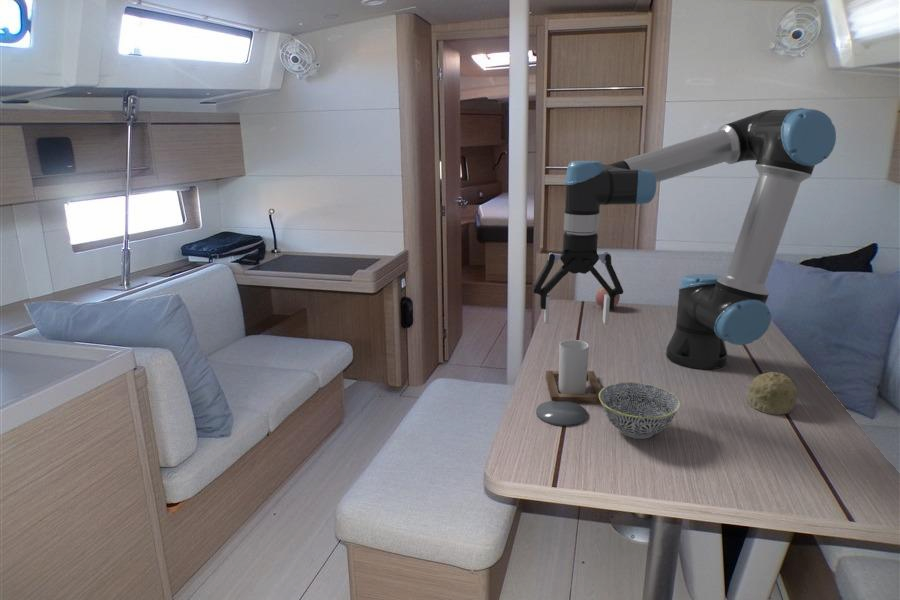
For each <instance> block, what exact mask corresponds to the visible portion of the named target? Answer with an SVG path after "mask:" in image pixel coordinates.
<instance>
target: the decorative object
mask: <svg viewBox="0 0 900 600" xmlns="http://www.w3.org/2000/svg"><path fill="white" fill-rule="evenodd" d="M797 391H798V388H797V386H796V385H795V384H794V383H793V381H792V379H791V378H790V376H787V375H786V374H785V373H781V372H778V371H777V372H776V371H775V372H773V371H768V372H766V373H760V374H758V375H757V376H755V377H754V379H752V381H751V382H750V384H749V387H748V394H747V399H746V401H747V404H748V405H749V406H750V407H751V408H753V409H754V410H756V411H759V412H761V413H763V414H769V415H778V416H779V415H786V414H789V413H790V414H791V412H792V408H793V407H794V406H795V404H796V403H795V402H796V401H797Z"/></svg>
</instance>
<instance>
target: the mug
mask: <svg viewBox="0 0 900 600" xmlns="http://www.w3.org/2000/svg"><path fill="white" fill-rule="evenodd" d="M589 346H590V345H589V344H588V343H587V342H585V341H583V340H579V339H565V340H562V341H560V342H559V346H558V347H559V348H558V349H559V351H558V371H559V379H558V393H559V394H586V389H587V380H588V379H587V371H588V363H589V354H590V353H589V351H590V350H589V349H590V347H589Z"/></svg>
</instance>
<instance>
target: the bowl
mask: <svg viewBox="0 0 900 600" xmlns="http://www.w3.org/2000/svg"><path fill="white" fill-rule="evenodd" d="M601 389H602V390H601V391H600V392H599V400H600V402H601V403H600V404H601V405H602V408H603V410H604V413H605V416H606V418H607V420H608V421H609V422H610V423H611V424H612V425H613V426H614V427H615V428H616V429H618V430H619V432H620V433H621V434H622V435H624V436H625V437H628V438H631V439H636V440H645V439H649V438H652V437H653V436H654V435H656V434H658V433H661V432H662V431H665V430H666V428H667V427H669V425H670V423H671V422H672V421H673V419H674V418H675V415H676V413H677V412H678V411H679V410H680V408H681V400H680V398H679V397H678V396H677V395H676V394H674V393H673V392H671V391H670V390H668V389H665V388H663V387H660V386H659V385H654V384H649V383H645V382H636V381H623V382H617V383H611V384H609V385H606V386H604V387H602V388H601Z"/></svg>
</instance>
